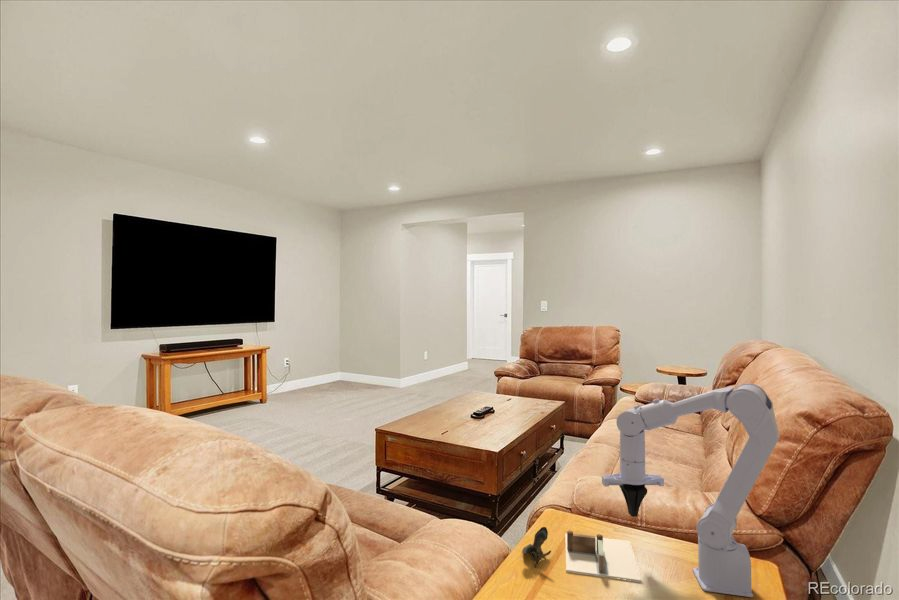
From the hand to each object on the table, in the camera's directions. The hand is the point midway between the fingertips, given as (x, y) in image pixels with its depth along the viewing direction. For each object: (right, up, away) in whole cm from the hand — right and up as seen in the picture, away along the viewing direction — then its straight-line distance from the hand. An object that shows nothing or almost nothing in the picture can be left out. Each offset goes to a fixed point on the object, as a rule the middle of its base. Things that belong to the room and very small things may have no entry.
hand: (632, 514), depth 109 cm
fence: (-12, -9, 0) cm, 15 cm away
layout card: (-9, -9, -2) cm, 13 cm away
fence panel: (-10, -9, -6) cm, 14 cm away
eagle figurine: (-24, -10, -2) cm, 26 cm away
